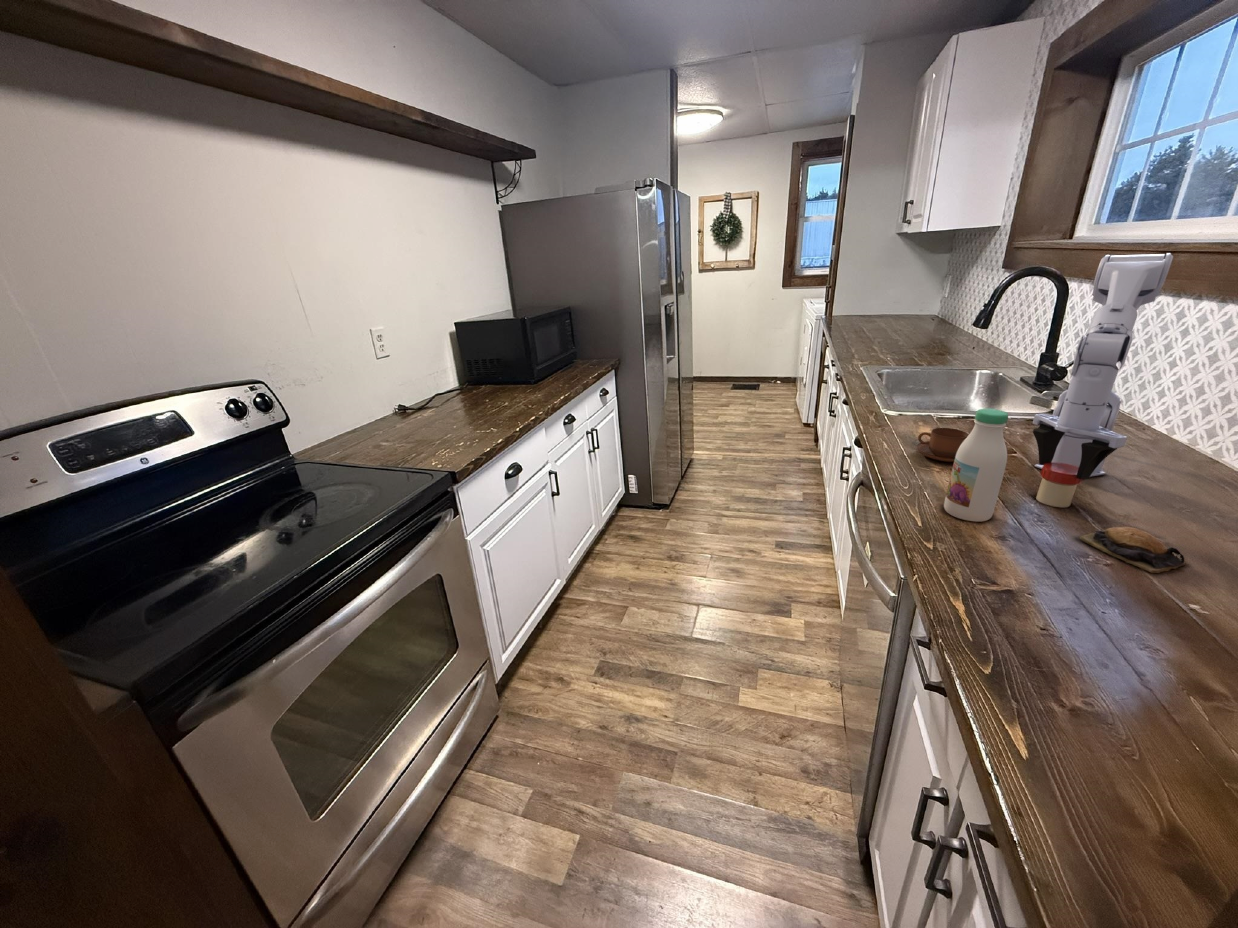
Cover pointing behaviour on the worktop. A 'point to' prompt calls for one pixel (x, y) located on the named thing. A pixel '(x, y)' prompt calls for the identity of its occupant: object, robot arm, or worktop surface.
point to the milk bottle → (978, 468)
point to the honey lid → (1060, 473)
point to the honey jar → (1055, 493)
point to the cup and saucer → (942, 443)
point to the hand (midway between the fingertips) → (1062, 470)
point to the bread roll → (1135, 548)
